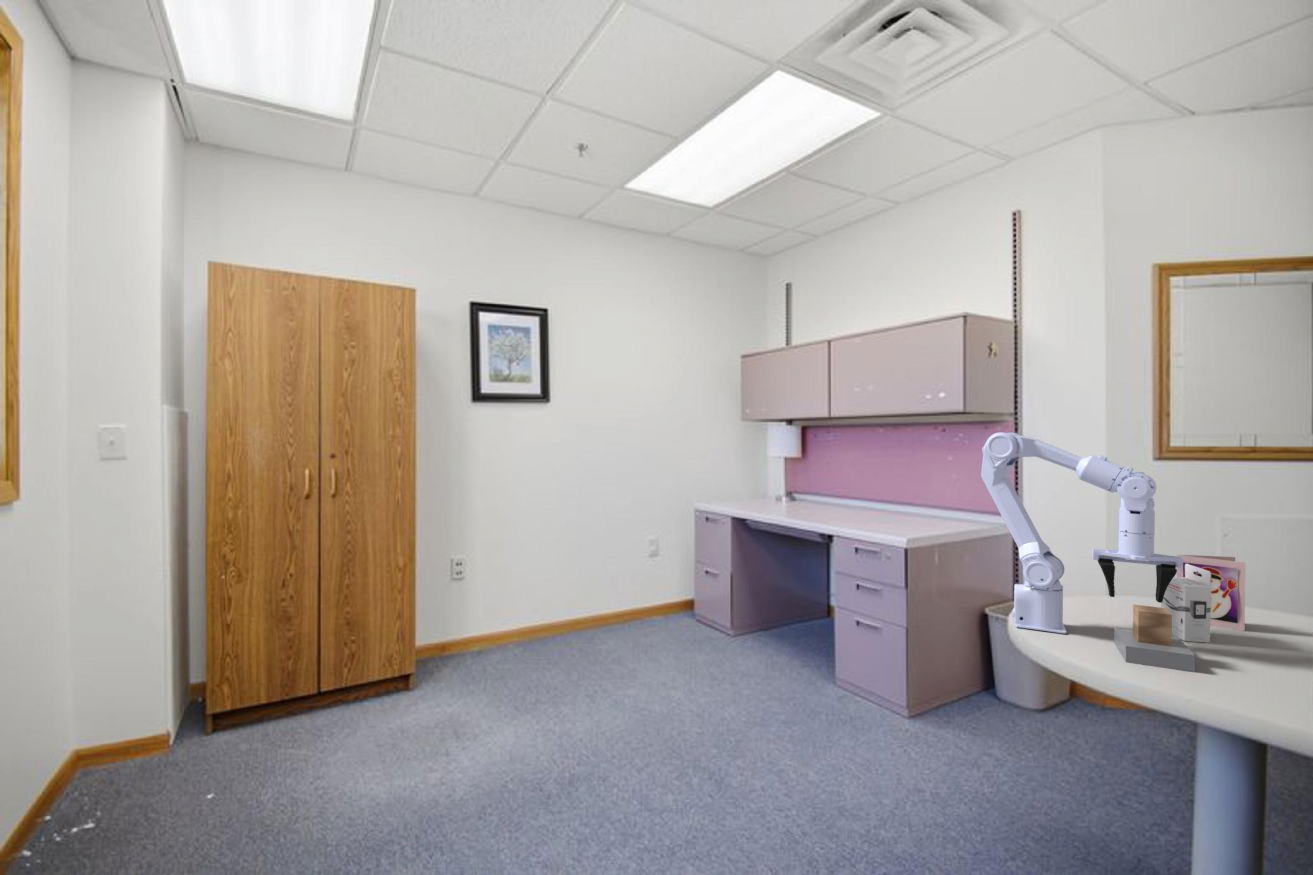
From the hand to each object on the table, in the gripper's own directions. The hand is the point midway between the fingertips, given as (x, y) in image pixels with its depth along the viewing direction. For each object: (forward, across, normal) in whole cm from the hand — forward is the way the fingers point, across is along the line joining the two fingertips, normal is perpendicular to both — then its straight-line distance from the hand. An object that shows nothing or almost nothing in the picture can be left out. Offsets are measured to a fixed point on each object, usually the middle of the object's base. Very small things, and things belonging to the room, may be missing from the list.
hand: (1134, 598), depth 124 cm
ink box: (+10, +10, +12) cm, 19 cm away
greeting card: (+10, +18, +27) cm, 34 cm away
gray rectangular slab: (+9, +2, -7) cm, 12 cm away
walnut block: (+6, +2, -7) cm, 9 cm away
